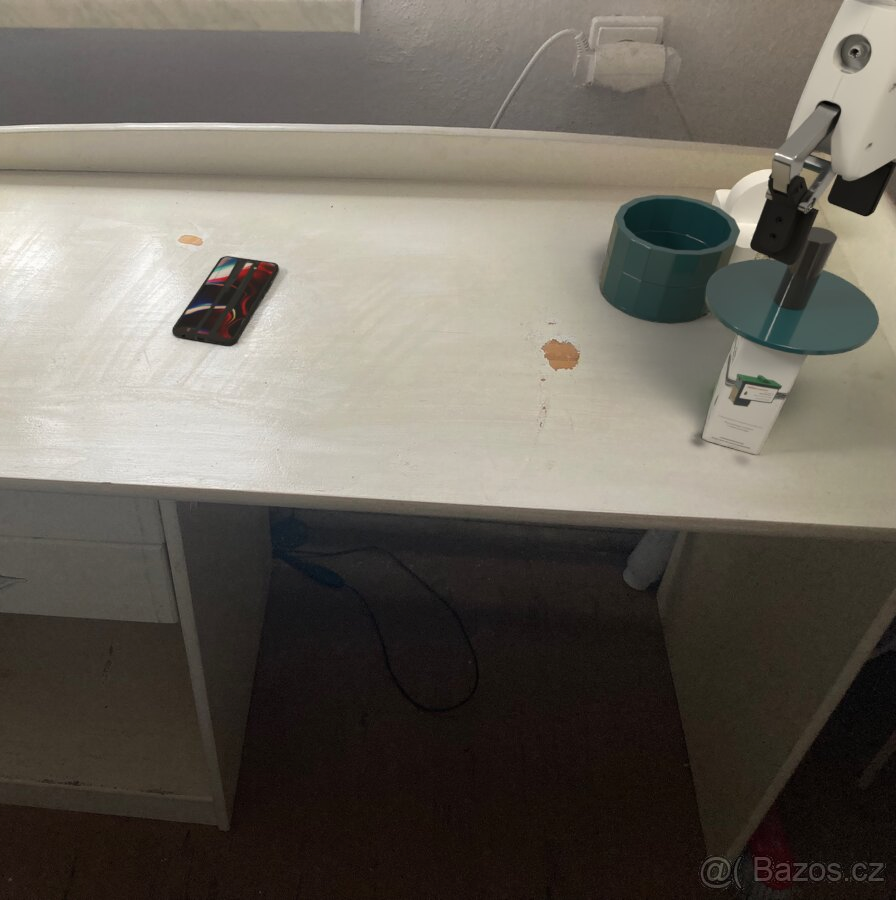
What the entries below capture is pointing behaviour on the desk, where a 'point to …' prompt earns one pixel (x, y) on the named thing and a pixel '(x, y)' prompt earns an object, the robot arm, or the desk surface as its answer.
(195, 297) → the smartphone
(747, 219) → the slotted bracket
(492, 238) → the desk surface
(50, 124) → the desk surface
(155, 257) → the desk surface
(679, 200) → the pot
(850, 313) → the lid
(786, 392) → the ink box
